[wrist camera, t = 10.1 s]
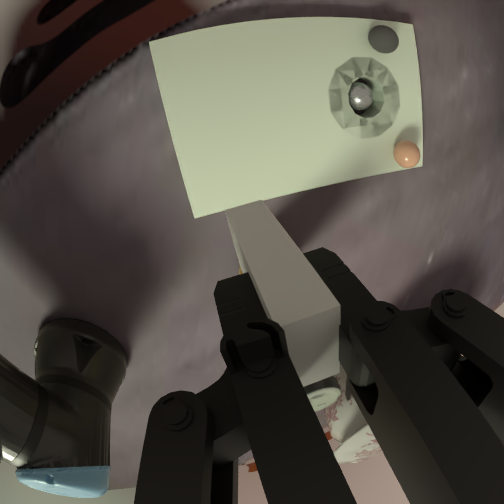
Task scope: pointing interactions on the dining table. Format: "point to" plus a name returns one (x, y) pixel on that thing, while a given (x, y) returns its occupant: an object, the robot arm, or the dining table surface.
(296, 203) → the dining table surface
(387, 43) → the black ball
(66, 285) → the dining table surface
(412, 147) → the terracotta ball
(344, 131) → the board
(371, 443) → the chamber pot
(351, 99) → the steel ball
